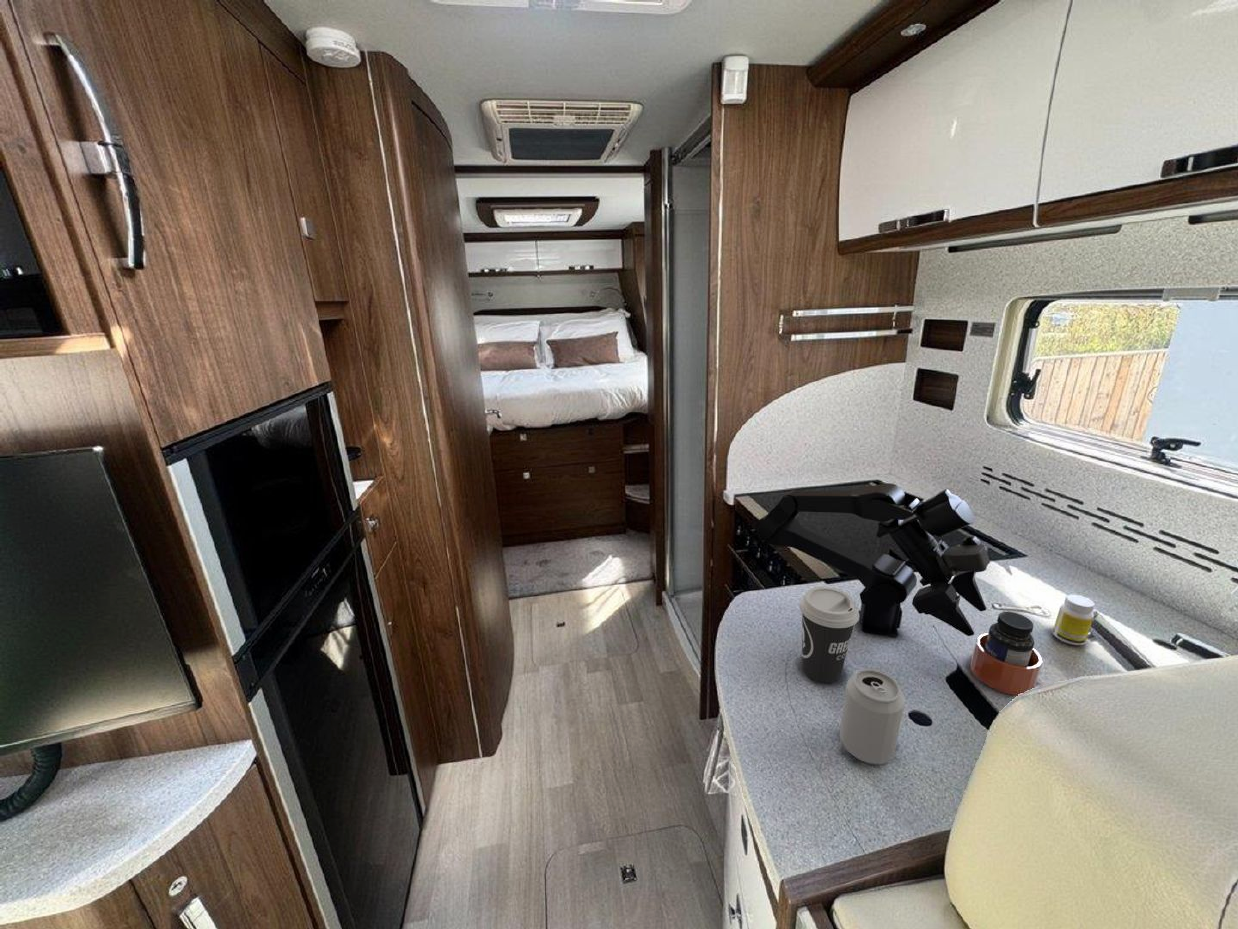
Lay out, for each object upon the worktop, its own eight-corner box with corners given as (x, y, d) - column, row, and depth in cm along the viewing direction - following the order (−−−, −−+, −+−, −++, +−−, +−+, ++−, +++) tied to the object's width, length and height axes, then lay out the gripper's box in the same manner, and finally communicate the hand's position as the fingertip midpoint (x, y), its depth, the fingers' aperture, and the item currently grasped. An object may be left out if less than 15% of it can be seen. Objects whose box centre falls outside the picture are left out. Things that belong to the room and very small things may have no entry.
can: (877, 724, 79) (888, 663, 75) (904, 767, 72) (918, 702, 67) (830, 727, 78) (838, 665, 74) (853, 770, 71) (863, 705, 67)
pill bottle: (973, 658, 91) (986, 606, 87) (1012, 662, 89) (1026, 610, 86) (989, 683, 85) (1004, 629, 81) (1031, 687, 84) (1047, 633, 80)
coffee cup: (814, 696, 84) (823, 622, 79) (782, 658, 93) (789, 589, 88) (862, 683, 87) (874, 610, 82) (826, 647, 95) (835, 580, 90)
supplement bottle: (1091, 647, 93) (1104, 609, 90) (1061, 644, 94) (1073, 607, 91) (1074, 630, 97) (1086, 594, 94) (1046, 628, 98) (1057, 592, 95)
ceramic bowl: (981, 689, 84) (988, 663, 82) (962, 653, 92) (968, 629, 91) (1044, 699, 82) (1053, 673, 80) (1020, 662, 90) (1027, 637, 88)
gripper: (946, 548, 79) (1016, 636, 76) (974, 510, 92) (1035, 584, 88) (886, 573, 87) (946, 653, 84) (919, 535, 100) (973, 604, 96)
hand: (977, 622), depth 88 cm, fingers open, 9 cm apart
